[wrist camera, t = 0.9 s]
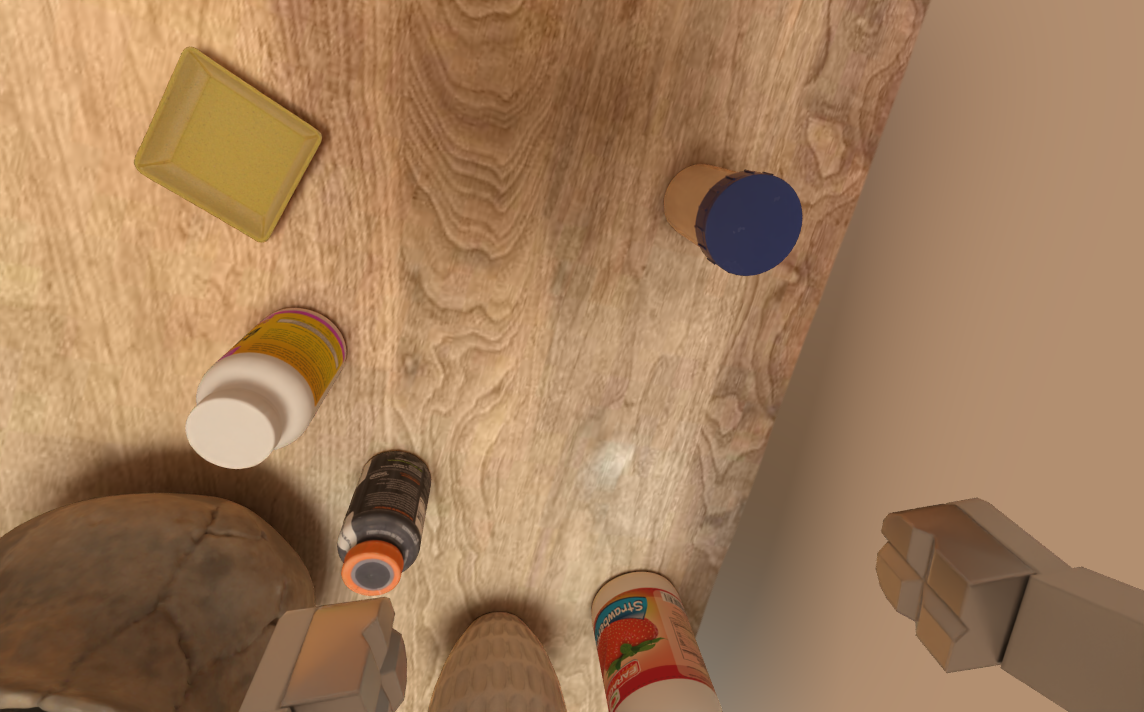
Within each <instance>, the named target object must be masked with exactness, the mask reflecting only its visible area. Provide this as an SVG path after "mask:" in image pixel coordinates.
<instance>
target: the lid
mask: <svg viewBox="0 0 1144 712" xmlns="http://www.w3.org/2000/svg"><path fill="white" fill-rule="evenodd" d="M773 175H774V174H770V173H766V172H763V173H760V172H755V171H749V170H744V171H741V172H737V173H734V174H731V175H729V176H728V175H726V176H725V178H723V179H721V180H720V181H719V182H717V183H716V184H715V185H714V186H713V187H712V188H709V191H708V192H707V194H706V195H705V197H704V198H703V200H702V202H701V204H700V206H698V208H699V209H698V212H697V216H696V222H695V225H694V227H695V232H696V238H697V242H698V244H697V245H698V246H699V247H700V248H701V250H702V252H703V253H704V254H705V256H706V257H707V259H708V260H709V261H710V262H712V263H713V264H714V265H715V264H716V265H718V266H719V267H721V268H722V269H724V270H725V271H727V272H728V273H732V274H735V275H740V276H751V275H757V274H761V273H763V272H766V271H768V270H770V269H772V268H774V267H775V266H777V265H778V264H779V263H780V262H782V261H783V260H784V259H785V258H786V257H787V256H788V254H789V253H790V252H791V250H792V249H793V247H794V246H795V244H796V242H797V240H798V237H799V234H800V231H801V226H802V208H801V204H800V200H799V198H798V196H797V194H796V192H795V191H794V189H793V188H792V187H791V186H790V185H789V184H788V183H787V182H785V181H784V180H782V179H780V178H778V177H776V176H773Z"/></svg>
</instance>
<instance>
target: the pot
mask: <svg viewBox="0 0 1144 712" xmlns="http://www.w3.org/2000/svg"><path fill="white" fill-rule="evenodd" d="M314 607H315V592H314V586H313V583H312V580H311V577H310V575H309V572H308V570H307V568H306V566H305V565H304V563H303V561H302V560H301V558H300V557H299V555H298V554H297V553H296V551H295V550H294V549H293V548H292V547H291V546H290V545H289V543H288V542H287V541H286V540H285V539H284V538H283V537H282V536H281V535H280V534H279V533H278V532H277V531H276V530H275V529H274V528H273V527H272V526H270V525H269V524H268V523H267V522H266V521H264V520H263V519H262V518H261V517H259V516H258V515H257V514H255V513H254V512H253V511H251V510H250V509H248V508H246V507H244V506H242V505H240V504H237V503H235V502H232V501H229V500H226V499H223V498H219V497H213V496H206V495H197V494H184V493H138V494H125V495H114V496H105V497H99V498H93V499H89V500H84V501H80V502H76V503H72V504H69V505H66V506H63V507H60V508H57V509H54V510H51V511H49V512H46V513H44V514H42V515H39V516H37V517H35V518H33V519H31V520H29V521H27V522H25V523H23V524H21V525H19V526H18V527H16V528H14V529H13V530H11V531H10V532H8V533H7V534H5V535H4V536H2V537H1V538H0V712H239V710H240V707H241V705H242V703H243V700H244V698H245V696H246V693H247V691H248V689H249V687H250V684H251V682H252V680H253V677H254V675H255V673H256V671H257V668H258V666H259V664H260V661H261V659H262V657H263V654H264V652H265V650H266V648H267V645H268V643H269V641H270V638H271V636H272V634H273V632H274V629H275V627H276V625H277V622H278V620H279V619H280V618H281V617H282V616H283V615H284V614H285V613H286V612H287V611H292V610H299V609H307V608H314Z"/></svg>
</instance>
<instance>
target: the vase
mask: <svg viewBox="0 0 1144 712" xmlns="http://www.w3.org/2000/svg"><path fill="white" fill-rule="evenodd" d="M428 712H567V709H566V705H565V701H564V698H563V694H562V690H561V687H560V683H559V680H558V678H557V675H556V673H555V671H554V668H553V666H552V663H551V661H550V659H549V657H548V655H547V653H546V651H545V650H544V648H543V646H542V644H541V643H540V641H539V640H538V638H537V637H536V636H535V635H534V633H533V632H532V631H531V630H530V629H529V627H528V626H527V625H526V624H525V623H524V622H523V621H522V620H521V619H520V618H519V617H517V616H515V615H513V614H510V613H506V612H493V613H488V614H485V615H483V616H481V617H479V618H477V619H476V620H475V621H473V623H472V624H471V625H470V626H469V627H468V628H467V630H466V631H465V632H464V633H463V635H462V636H461V637H460V638H459V640H458V641H457V642H456V644H455V645H454V647H453V649H452V651H451V652H450V654H449V656H448V658H447V660H446V662H445V664H444V665H443V668H442V670H441V673H440V675H439V678H438V680H437V683H436V685H435V688H434V691H433V693H432V697H431V701H430V704H429V708H428Z"/></svg>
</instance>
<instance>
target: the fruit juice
mask: <svg viewBox="0 0 1144 712" xmlns="http://www.w3.org/2000/svg"><path fill="white" fill-rule="evenodd" d="M592 624H593V629H594V635H595V640H596V645H597V651H598V656H599V662H600V667H601V672H602V678H603V683H604V688H605V694H606V699H607V704H608V710H609V712H723V711H722V708H721V705H720V703H719V700H718V698H717V695H716V693H715V690H714V687H713V685H712V682H711V680H710V677H709V674H708V672H707V669H706V666H705V663H704V661H703V658H702V656H701V653H700V650H699V647H698V645H697V642H696V639H695V637H694V634H693V631H692V629H691V626H690V623H689V621H688V618H687V615H686V613H685V610H684V607H683V605H682V602H681V599H680V597H679V595H678V593H677V591H676V589H675V588H674V586H673V585H672V584H671V583H670V582H669V581H668V580H667V579H666V578H664V577H662V576H660V575H658V574H655V573H651V572H632V573H628V574H624V575H621V576H619V577H617V578H615V579H613V580H611V581H610V582H608V583H607V584H606V585H604V586H603V587H602V588H601V589H600V591H599V592H598V593H597V595H596V597H595V599H594V601H593V605H592Z"/></svg>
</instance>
